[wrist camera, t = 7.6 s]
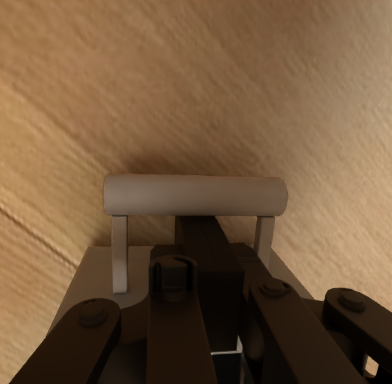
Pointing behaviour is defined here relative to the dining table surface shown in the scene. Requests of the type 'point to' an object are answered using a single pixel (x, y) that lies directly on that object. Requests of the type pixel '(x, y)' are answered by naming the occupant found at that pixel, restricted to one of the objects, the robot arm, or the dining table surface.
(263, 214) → the grey drawer
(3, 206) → the dining table surface
